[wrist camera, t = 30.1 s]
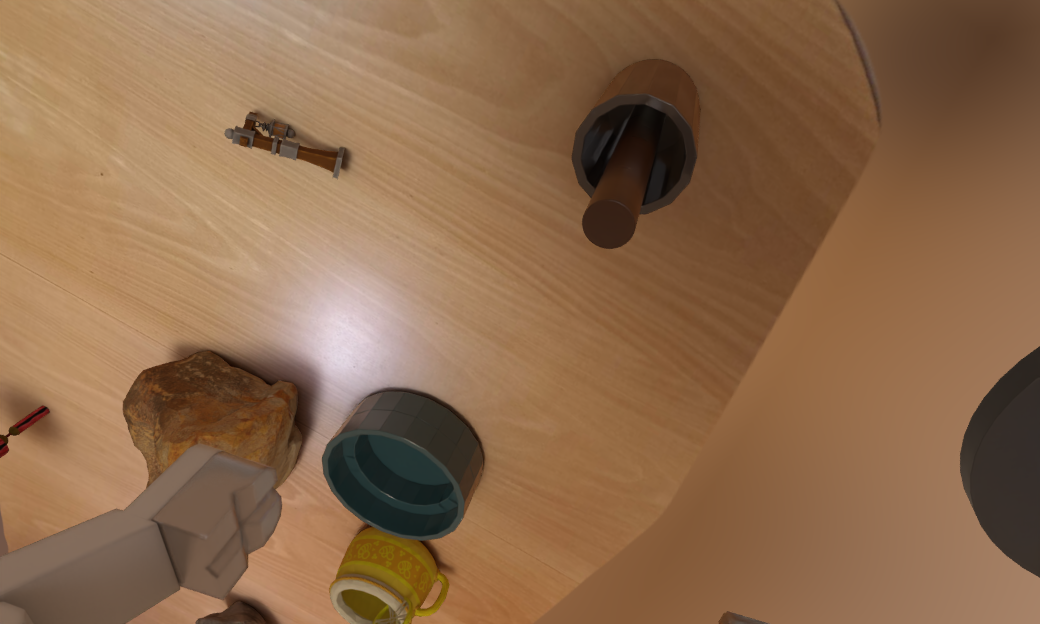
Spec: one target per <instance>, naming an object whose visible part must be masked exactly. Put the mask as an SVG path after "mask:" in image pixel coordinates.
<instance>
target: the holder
mask: <svg viewBox="0 0 1040 624" xmlns="http://www.w3.org/2000/svg"><path fill="white" fill-rule="evenodd" d="M642 104H645V105H647V106H649V107H652V108H654V109H656V110H658V111H660V112H663V113H665V114H666V117H665V121H664V124H663V128H662V132H661V135H660V139H659V143H658V147H657V150H656V154H655V158H654V161H653V165H652V169H651V172H650V176H649V180H648V184H647V187H646V191H645V195H644V198H643V202H642V206H641V210H640V213H639V214H648V213H651V212H653V211H655V210H657V209H660V208H662V207H664V206H667V205H669V204H671V203H672V202H673V201H674V200H675V199H676V198H677V196H678V195H679V194H680V193H681V192H682V191H683V190H684V189H685V188H686V186H687V185H688V184H689V182H690V180H691V177H692V173H693V170H694V166H695V163H696V159H697V153H698V139H699V126H700V112H701V109H700V102H699V95H698V91H697V88H696V86H695V84H694V82H693V80H692V79H691V78H690V76H689V75H688V74H687V73H686V72H685V71H684V70H683V69H682V68H680V67H679V66H677V65H675V64H673V63H671V62H668V61H664V60H658V59H648V60H643V61H639V62H636V63H634V64H632V65H630V66H628V67H626V68H625V69H623V70H622V71H621V72H619V73H618V74H617V75H616V76H615V78H614V79H613V80H612V82H611V83H610V85H609V86H608V87H607V89H606V90H605V92H604V93H603V94H602V96H601V97H600V99H599V100H598V101H597V103H596V104H595V106H594V107H593V108H592V110H591V111H590V113H589V114H588V115H587V117H586V118H585V120H584V121H583V122H582V124H581V125H580V127H579V128H578V130H577V131H576V134H575V140H574V146H573V152H572V162H573V166H574V169H575V173H576V176H577V180H578V183H579V185H580V186H581V187H582V188H583V189H584V190H585V192H586V193H587V194H588V195H589V196H590V197H591V198H592V196H593V194H594V192H595V190H596V187H597V185H598V183H599V181H600V179H601V177H602V175H603V173H604V170H605V168H606V166H607V164H608V162H609V160H610V158H611V156H612V154H613V151H614V149H615V147H616V145H617V143H618V141H619V139H620V137H621V134H622V132H623V130H624V128H625V126H626V124H627V122H628V120H629V118H630V115H631V113H632V111H633V109H634V107H635V105H642Z"/></svg>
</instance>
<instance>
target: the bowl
mask: <svg viewBox="0 0 1040 624" xmlns="http://www.w3.org/2000/svg"><path fill="white" fill-rule="evenodd" d="M322 464H323V474H324V476H325V478H326V480H327V483H328V485H329V487H330V489H331V491H332V492H333V494H334V495H335V496H336V497H337V498H338V500H339V501H340V502H341V503H342V504H343V506H344V507H345V508H347V509H348V510H349V511H350V512H352V513H353V514H354V515H355V516H356V517H358V518H359V519H360V520H361V521H363V522H365V523H367V524H369V525H370V526H372V527H374V528H376V529H378V530H380V531H382V532H384V533H387V534H390V535H393V536H397V537H400V538H403V539H412V540H420V541H425V540H432V539H438V538H442V537H444V536H446V535H447V534H449V533H451V532H453V531H455V530H456V528H457V527H458V525H459V524H460V522H461V521H462V519H463V518H464V515H465V513H466V511H467V508H468V506H469V504H470V501H471V499H472V497H473V494H474V492H475V490H476V488H477V485H478V483H479V481H480V478H481V476H482V468H483V457H482V453H481V450H480V447H479V443H478V441H477V440H476V438H475V437H474V435H473V434H472V433H471V431H470V430H469V428H468V427H467V425H466V424H464V423H463V422H462V421H461V420H460V419H459V418H458V417H457V416H455V415H454V414H453V413H452V412H451V411H450V410H449V409H447V408H445V407H443V406H441V405H440V404H438V403H436V402H434V401H432V400H431V399H429V398H426V397H422V396H419V395H415V394H412V393H408V392H391V391H385V392H382V393H378V394H375V395H372V396H369V397H367V398H365V399H364V400H363V401H362V402H361V403H360V404H359V405H357V406H356V407H355V409H354V410H353V411H352V413H351V414H350V415H349V416H348V418H347V419H346V420H345V422H344V423H343V424H342V426H341V427H340V428H339V430H338V431H337V432H336V433H335V435H334V436H333V437H332V439H331V440H330V441H329V443H328V444H327V446H326V449H325V451H324V454H323V457H322Z"/></svg>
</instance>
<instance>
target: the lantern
mask: <svg viewBox="0 0 1040 624" xmlns="http://www.w3.org/2000/svg"><path fill="white" fill-rule="evenodd" d="M48 413H49V409H48V408H47V407H45V406H41V407H39V408H38V409H37V410H35V411H34V412H32V413H31V414H29V415H28V416H26V417H25V418H23V419H22V420H21V421H19V422H18V423H16V424H15V425H13V426H12V427H10V428H9V434H8V435H6V436H4V435H0V458H1V457H2V456H4V455H5V454H7V453H8V451H9V448H8V446H7V443H8V438H7V437H9V436H10V435H13V436H16V435H19V434H20V433H21V432H23V431H24V430H26V429H27V428H28V427H30V426H31V425H33V424H34V423H35V422H37V421H38V420H40V419H41V418H42V417H44V416H45V415H47V414H48Z"/></svg>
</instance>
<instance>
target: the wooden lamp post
mask: <svg viewBox="0 0 1040 624" xmlns="http://www.w3.org/2000/svg"><path fill="white" fill-rule="evenodd" d="M256 119H257V114H256V113H253V112H249V114H248V115H247V116H246V120H245V125H244V127H243V128H240V127H238V126H236V127H235V129H234V130H233V129H230V128H229V129H226V130H225V136H226V137H227V138H228V139H233V140H232V144H239V145H241V146H244V147H249V148H251V149H252V146H253V147H257V148H260V149H264V150H267V151H271V154H274V155H275V154H276V153H278V154H279V156H282V157H287V158H291V159H293V160H296V158H297V159H300V160H304V161H307V162H310V163H312V164H315V165H317V166H320V167H323V168H325V169H327V170H329V171H331V172H333V173H334V174H333V177H334V178H337V180H338V176H339V171H340V167H341V162H342V158H343V154H344V149H345V148H339V152H336V151H325V150H319V149H312V148H307V147H303V146H300V145H299V144H300V143H294V142H291V141H288V140H286V137H288V138H293V137H294V136H295V132H294V131H293V130H291V129H289V130H288V127H289V125H283V124H279V123H276V122H275V119H274V120H273V121H272V122H271V123H270V124H269V123H268V124H267V125H266V121H265V122H264V123H263V124H262V123H260V122H259V121H256ZM256 122H258V123H259V126H255V125H256ZM261 125H262V126H261ZM255 127H262V129H263V131H264V130H265V128H266V131H267V130H268V133H269V137H266V136H263V135H262V134H261V133H260V132H259V131H258V130H257V129H256V128H255ZM271 136H275V138H271ZM279 138H282V139H283V141H282V140H279Z"/></svg>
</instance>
